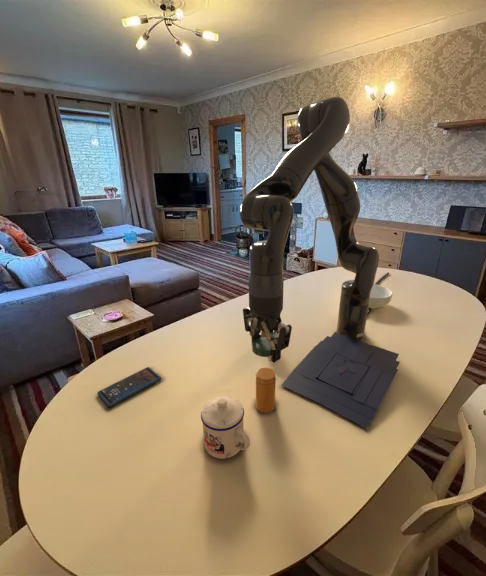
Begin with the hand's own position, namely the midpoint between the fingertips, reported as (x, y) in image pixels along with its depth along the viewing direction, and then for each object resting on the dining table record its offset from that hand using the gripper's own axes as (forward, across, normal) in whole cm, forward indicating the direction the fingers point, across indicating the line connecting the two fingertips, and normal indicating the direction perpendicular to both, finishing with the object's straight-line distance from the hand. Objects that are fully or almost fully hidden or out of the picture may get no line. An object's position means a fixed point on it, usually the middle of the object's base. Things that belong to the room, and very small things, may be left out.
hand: (265, 354), depth 73 cm
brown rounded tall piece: (+15, +19, -19) cm, 31 cm away
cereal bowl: (+16, +13, -73) cm, 76 cm away
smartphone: (+15, +29, +24) cm, 40 cm away
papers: (+15, -8, -24) cm, 30 cm away
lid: (-3, 0, 0) cm, 3 cm away
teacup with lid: (+15, -4, +15) cm, 21 cm away
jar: (+15, -1, 0) cm, 15 cm away
